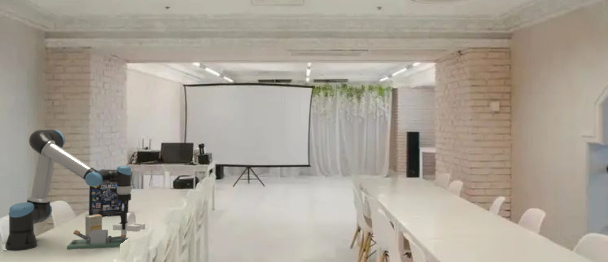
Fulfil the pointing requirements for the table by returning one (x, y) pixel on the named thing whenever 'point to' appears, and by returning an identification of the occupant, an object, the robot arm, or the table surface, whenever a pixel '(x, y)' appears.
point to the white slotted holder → (130, 224)
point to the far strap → (117, 237)
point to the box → (104, 200)
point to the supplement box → (92, 223)
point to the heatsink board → (96, 241)
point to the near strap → (81, 235)
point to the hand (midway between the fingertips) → (123, 234)
